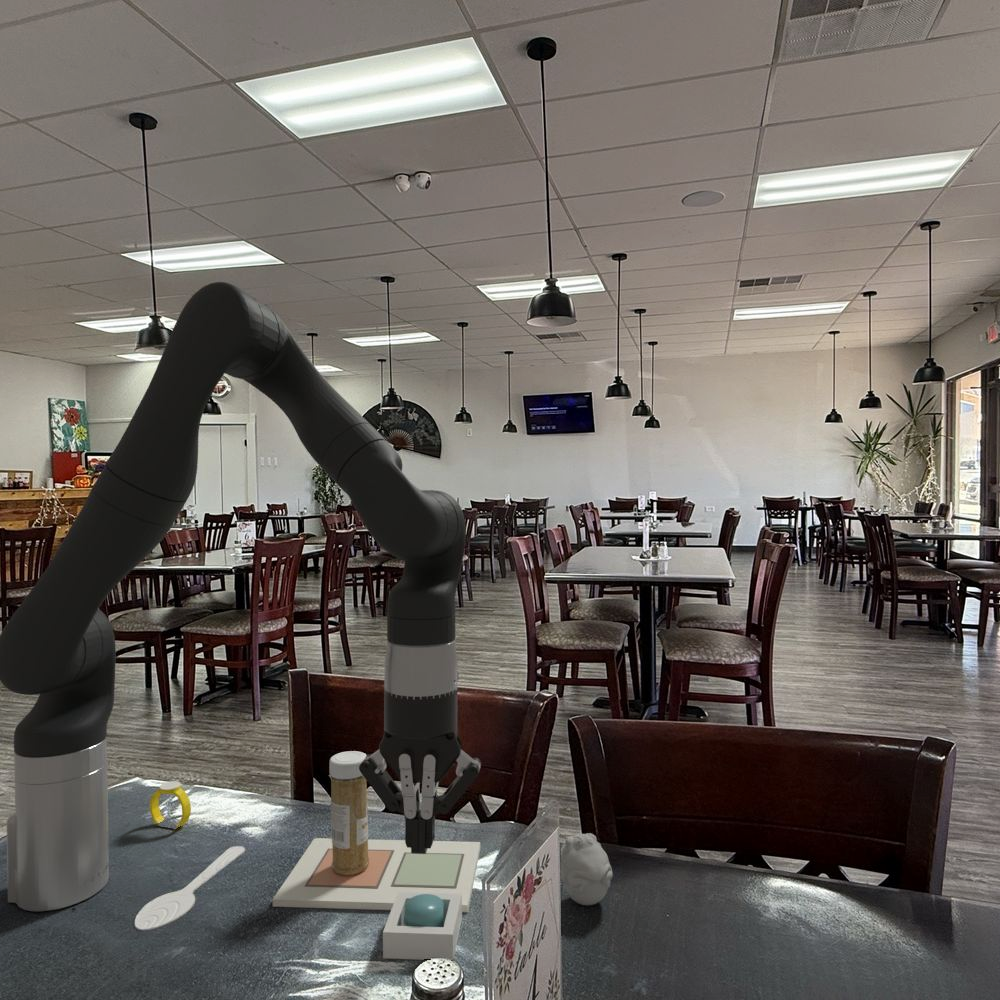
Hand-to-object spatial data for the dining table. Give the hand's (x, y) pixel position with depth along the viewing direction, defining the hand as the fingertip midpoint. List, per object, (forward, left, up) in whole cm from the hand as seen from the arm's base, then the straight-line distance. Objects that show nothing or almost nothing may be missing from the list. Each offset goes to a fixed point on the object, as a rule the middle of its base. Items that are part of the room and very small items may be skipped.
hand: (420, 850), depth 72 cm
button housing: (0, 0, -9) cm, 9 cm away
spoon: (-29, +9, -10) cm, 32 cm away
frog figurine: (+17, +8, -9) cm, 21 cm away
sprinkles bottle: (-11, +12, -9) cm, 18 cm away
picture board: (-7, +12, -9) cm, 16 cm away
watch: (-40, +23, -9) cm, 47 cm away
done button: (0, 0, -8) cm, 8 cm away
